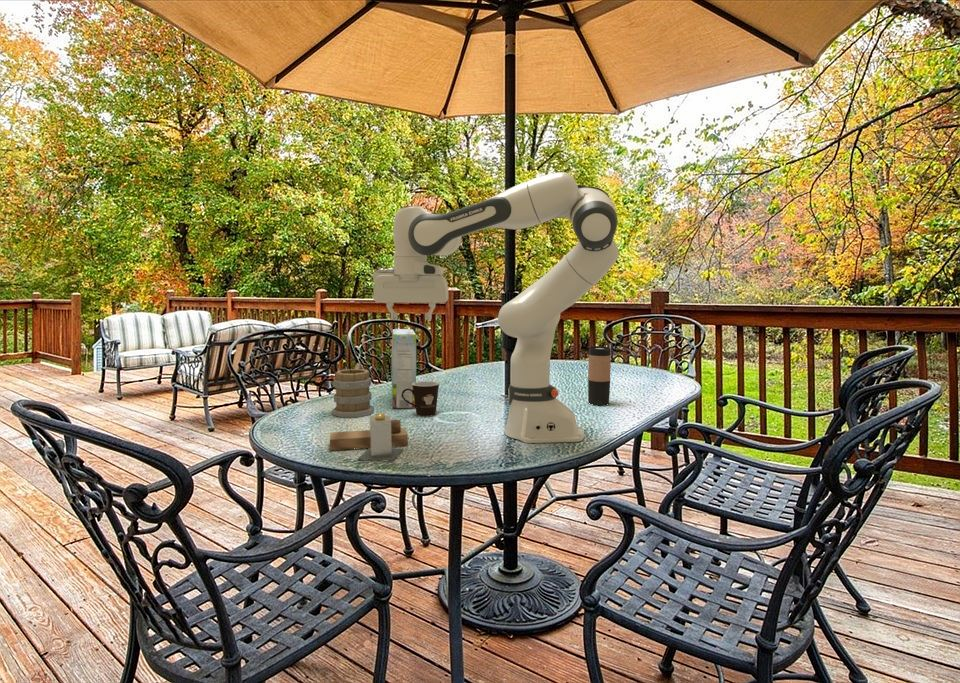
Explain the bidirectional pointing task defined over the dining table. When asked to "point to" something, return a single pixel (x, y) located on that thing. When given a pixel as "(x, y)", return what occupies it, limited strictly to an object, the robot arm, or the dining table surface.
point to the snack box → (403, 366)
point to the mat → (390, 458)
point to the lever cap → (380, 436)
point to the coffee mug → (424, 397)
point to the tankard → (352, 393)
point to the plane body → (366, 438)
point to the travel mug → (599, 375)
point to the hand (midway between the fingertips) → (411, 319)
